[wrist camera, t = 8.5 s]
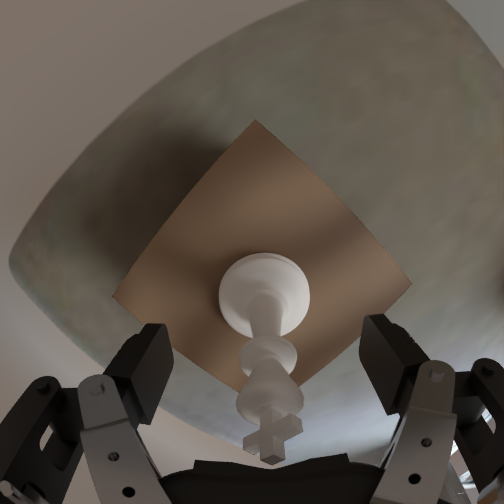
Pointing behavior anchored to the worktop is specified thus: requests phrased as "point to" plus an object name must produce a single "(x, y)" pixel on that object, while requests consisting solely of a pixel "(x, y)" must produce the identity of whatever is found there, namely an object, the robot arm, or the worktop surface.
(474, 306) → the worktop surface
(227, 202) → the small wooden table
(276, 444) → the chess piece
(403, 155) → the worktop surface
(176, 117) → the worktop surface
